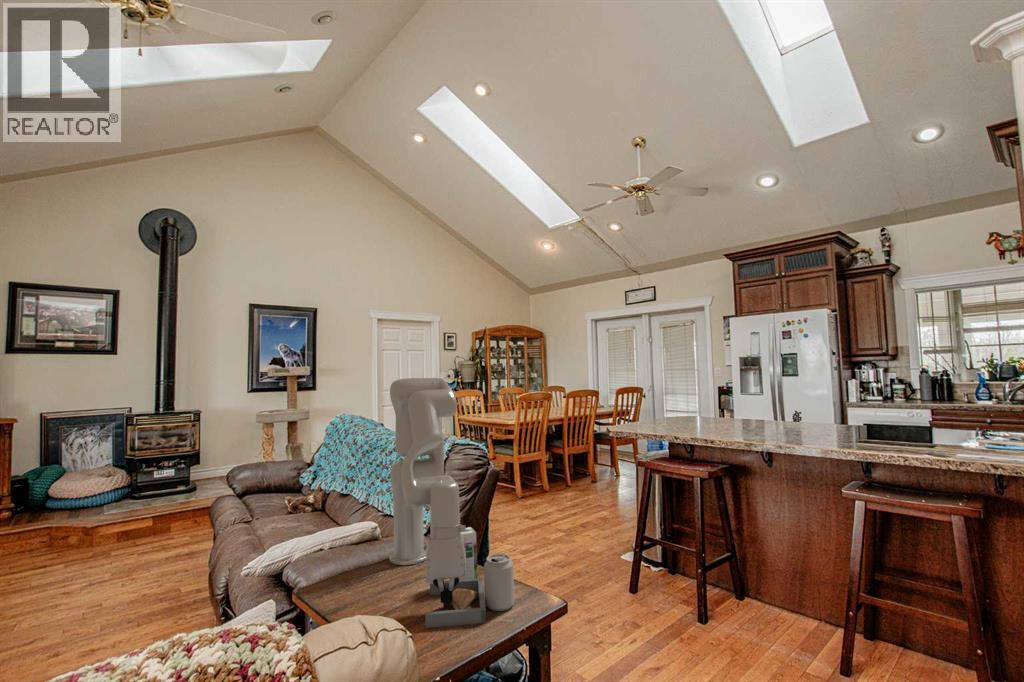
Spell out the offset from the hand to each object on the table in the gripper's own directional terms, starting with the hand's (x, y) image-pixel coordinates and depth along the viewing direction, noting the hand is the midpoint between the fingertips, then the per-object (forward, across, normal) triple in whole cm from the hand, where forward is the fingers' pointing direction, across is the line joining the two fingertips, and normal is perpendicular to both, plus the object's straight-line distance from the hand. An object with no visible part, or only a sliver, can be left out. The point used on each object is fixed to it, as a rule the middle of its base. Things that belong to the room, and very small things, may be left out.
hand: (446, 605), depth 123 cm
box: (+1, -2, 0) cm, 2 cm away
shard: (+1, -5, -2) cm, 6 cm away
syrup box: (+1, -4, -16) cm, 16 cm away
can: (+1, -13, 0) cm, 13 cm away
